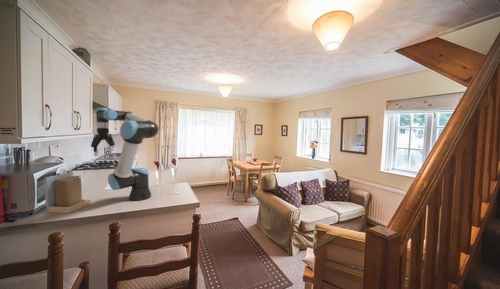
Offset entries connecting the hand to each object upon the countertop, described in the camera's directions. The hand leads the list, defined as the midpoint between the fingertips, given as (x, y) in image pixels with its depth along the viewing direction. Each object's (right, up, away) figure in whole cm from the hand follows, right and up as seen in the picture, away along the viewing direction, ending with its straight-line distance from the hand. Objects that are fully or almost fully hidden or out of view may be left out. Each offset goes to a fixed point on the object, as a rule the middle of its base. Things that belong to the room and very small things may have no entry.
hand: (103, 154), depth 158 cm
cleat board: (-8, -34, -23) cm, 42 cm away
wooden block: (-7, -35, -23) cm, 42 cm away
